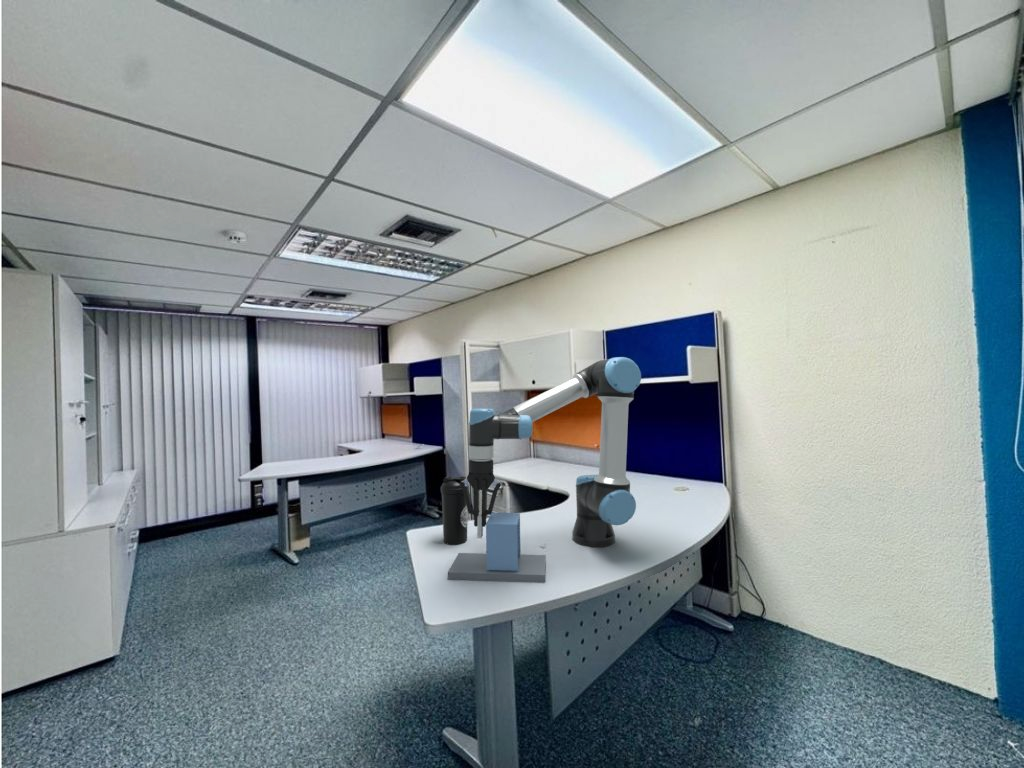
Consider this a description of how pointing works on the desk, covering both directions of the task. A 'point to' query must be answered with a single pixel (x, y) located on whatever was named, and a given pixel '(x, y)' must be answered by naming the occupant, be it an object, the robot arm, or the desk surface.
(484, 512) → the robot arm
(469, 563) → the housing base
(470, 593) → the desk surface
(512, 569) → the housing cover
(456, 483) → the water bottle
